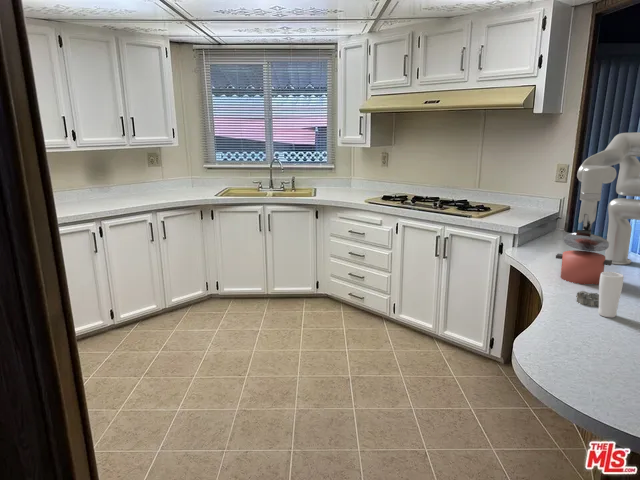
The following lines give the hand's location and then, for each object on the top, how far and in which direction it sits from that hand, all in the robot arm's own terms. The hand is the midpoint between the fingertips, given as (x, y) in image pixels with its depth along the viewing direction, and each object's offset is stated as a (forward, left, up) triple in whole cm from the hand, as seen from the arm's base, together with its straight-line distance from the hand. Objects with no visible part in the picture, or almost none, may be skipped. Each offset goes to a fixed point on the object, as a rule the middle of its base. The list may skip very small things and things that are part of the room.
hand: (586, 238), depth 188 cm
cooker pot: (+1, 0, -18) cm, 18 cm away
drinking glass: (+41, +15, -18) cm, 47 cm away
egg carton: (+31, +9, -19) cm, 37 cm away
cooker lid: (+1, 0, -2) cm, 2 cm away
